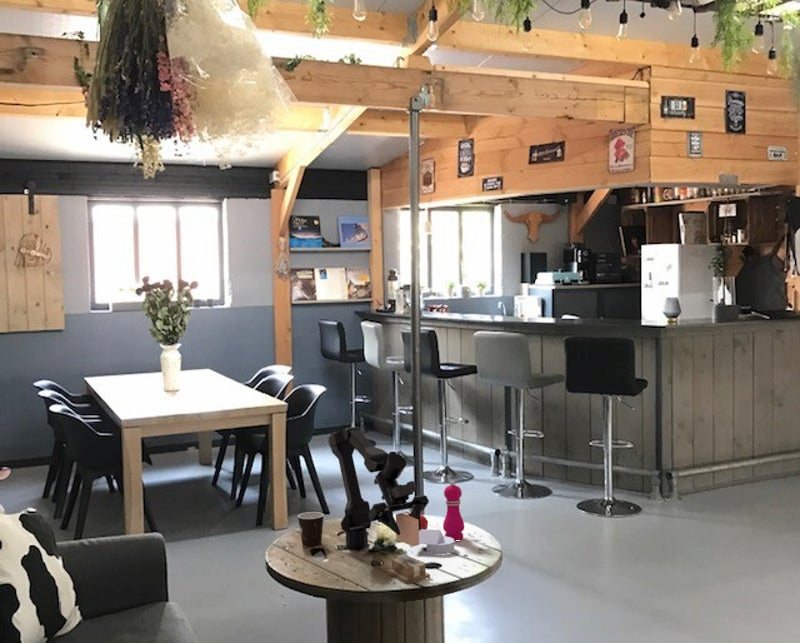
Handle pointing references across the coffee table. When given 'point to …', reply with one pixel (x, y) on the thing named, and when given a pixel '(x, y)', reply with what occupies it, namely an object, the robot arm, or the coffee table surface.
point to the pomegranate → (423, 521)
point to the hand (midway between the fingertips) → (409, 532)
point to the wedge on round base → (436, 541)
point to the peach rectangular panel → (408, 529)
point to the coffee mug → (311, 528)
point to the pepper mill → (453, 513)
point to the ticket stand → (408, 569)
